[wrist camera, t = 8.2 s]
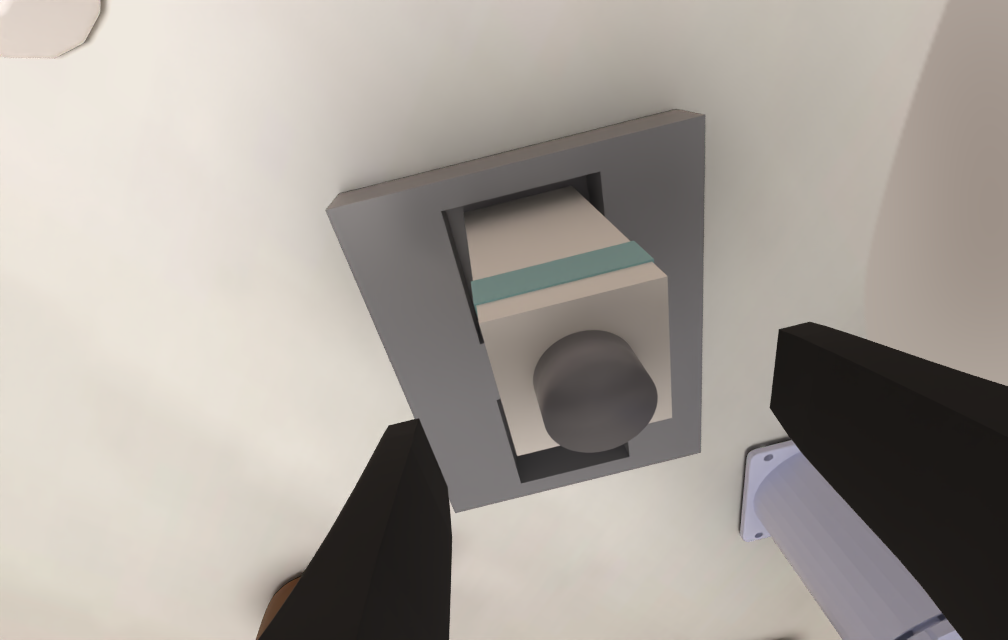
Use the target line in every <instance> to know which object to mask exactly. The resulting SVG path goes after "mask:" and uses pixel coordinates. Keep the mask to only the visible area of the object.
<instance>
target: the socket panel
mask: <svg viewBox="0 0 1008 640" xmlns="http://www.w3.org/2000/svg"><path fill="white" fill-rule="evenodd" d="M704 178H705V115H704V114H699V113H694V112H688V111H683V110H678V109H675V110H671V111H667V112H663V113H659V114H655V115H651V116H647V117H643V118H639V119H635V120H631V121H627V122H623V123H619V124H615V125H611V126H607V127H603V128H599V129H595V130H591V131H587V132H583V133H579V134H575V135H571V136H567V137H563V138H559V139H555V140H551V141H547V142H543V143H539V144H535V145H531V146H527V147H523V148H519V149H515V150H511V151H508V152H504V153H500V154H496V155H492V156H488V157H484V158H480V159H476V160H472V161H468V162H464V163H460V164H456V165H452V166H448V167H444V168H440V169H436V170H432V171H428V172H424V173H420V174H416V175H412V176H408V177H404V178H400V179H396V180H392V181H388V182H384V183H380V184H376V185H372V186H368V187H364V188H360V189H356V190H352V191H348V192H344V193H340V194H338V195H337V196H336V198H335V199H334V200H333V201H332V203H331V204H330V205H329V206H328V208H327V209H326V213H327V215H328V217H329V220H330V222H331V224H332V227H333V229H334V231H335V234H336V236H337V238H338V241H339V243H340V245H341V248H342V250H343V252H344V255H345V257H346V259H347V262H348V264H349V266H350V269H351V271H352V273H353V276H354V278H355V280H356V283H357V285H358V287H359V290H360V292H361V294H362V297H363V299H364V301H365V304H366V306H367V308H368V311H369V313H370V315H371V318H372V320H373V322H374V325H375V327H376V329H377V332H378V334H379V336H380V339H381V341H382V343H383V346H384V348H385V350H386V353H387V355H388V357H389V360H390V362H391V364H392V367H393V369H394V371H395V374H396V376H397V378H398V381H399V383H400V385H401V388H402V390H403V392H404V395H405V397H406V399H407V402H408V404H409V406H410V409H411V411H412V413H413V416H414V418H415V419H418V418H419V420H420V422H421V424H422V427H423V429H424V431H425V434H426V436H427V439H428V441H429V443H430V446H431V448H432V450H433V453H434V455H435V458H436V460H437V462H438V465H439V467H440V469H441V472H442V474H443V477H444V479H445V481H446V484H447V486H448V494H449V500H450V502H451V504H452V507H453V509H454V511H455V513H458V512H462V511H466V510H470V509H474V508H478V507H482V506H486V505H490V504H494V503H498V502H502V501H506V500H510V499H514V498H519V497H523V496H527V495H531V494H535V493H539V492H543V491H547V490H551V489H555V488H559V487H563V486H567V485H571V484H575V483H579V482H583V481H587V480H592V479H596V478H600V477H604V476H608V475H612V474H616V473H620V472H624V471H628V470H632V469H636V468H640V467H644V466H648V465H652V464H656V463H661V462H665V461H669V460H673V459H677V458H681V457H685V456H689V455H693V454H697V453H701V402H702V328H703V253H704ZM568 186H572V187H574V188H575V189H576V190H577V191H578V192H579V193H580V194H581V195H582V196H583V197H584V198H585V199H586V200H587V201H588V202H589V203H590V204H592V205H593V206H594V207H595V208H596V209H597V210H598V211H599V212H600V213H601V214H602V215H603V216H604V217H605V218H606V219H607V220H608V221H610V222H611V223H612V224H613V225H614V226H615V227H616V228H617V229H618V230H619V231H620V232H621V233H622V234H623V235H624V236H625V237H626V238H628V239H629V240H630V241H635V242H636V243H637V244H638V245H639V246H641V247H642V248H643V249H644V250H645V251H646V252H647V253H648V254H649V255H650V256H651V257H652V258H654V264H655V265H656V266H657V267H658V268H659V269H660V270H661V271H663V272H664V273H665V274H666V275H667V276H668V305H669V336H670V366H671V397H672V418H669V419H665V420H661V421H657V422H653V423H649V424H648V425H647V426H646V427H645V428H644V429H643V430H642V431H641V432H640V433H639V434H638V435H637V436H635V437H634V438H633V439H631V440H630V441H628V442H627V443H625V444H623V445H621V446H618V447H616V448H613V449H610V450H606V451H601V452H593V453H584V452H577V451H572V450H569V449H566V448H564V447H562V446H556V447H552V448H548V449H544V450H540V451H536V452H532V453H528V454H524V455H520V456H517V454H516V450H515V447H514V443H513V440H512V436H511V433H510V430H509V426H508V423H507V419H506V416H505V412H504V409H503V405H502V402H501V398H500V395H499V391H498V388H497V385H496V381H495V378H494V374H493V371H492V367H491V364H490V360H489V357H488V353H487V350H486V346H485V343H484V339H483V336H482V333H481V329H480V326H479V321H478V317H477V314H476V311H475V307H474V303H473V295H472V287H471V281H473V277H472V270H471V263H470V256H469V248H468V241H467V234H466V227H465V219H464V213H465V212H469V211H473V210H477V209H481V208H485V207H489V206H493V205H497V204H501V203H505V202H509V201H513V200H517V199H521V198H525V197H529V196H533V195H537V194H541V193H544V192H548V191H552V190H556V189H560V188H564V187H568Z"/></svg>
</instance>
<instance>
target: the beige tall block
mask: <svg viewBox="0 0 1008 640" xmlns="http://www.w3.org/2000/svg"><path fill="white" fill-rule="evenodd" d="M464 219H465V227H466V234H467V241H468V248H469V256H470V263H471V270H472V277H473V281H471V287H472V295H473V303H474V307H475V311H476V314H477V317H478V321H479V326H480V329H481V333H482V336H483V339H484V343H485V346H486V350H487V353H488V357H489V360H490V364H491V367H492V371H493V374H494V378H495V381H496V385H497V388H498V391H499V395H500V398H501V402H502V405H503V409H504V412H505V416H506V419H507V423H508V426H509V430H510V433H511V436H512V440H513V443H514V447H515V450H516V454H517V456H520V455H524V454H528V453H532V452H536V451H540V450H544V449H548V448H552V447H556V446H562V447H564V448H566V449H569V450H572V451H577V452H584V453H593V452H601V451H606V450H610V449H613V448H616V447H618V446H621V445H623V444H625V443H627V442H628V441H630V440H631V439H633V438H634V437H635V436H637V435H638V434H639V433H640V432H641V431H642V430H643V429H644V428H645V427H646V426H647V425H648V424H649V423H653V422H657V421H661V420H665V419H669V418H672V397H671V366H670V336H669V305H668V276H667V275H666V274H665V273H664V272H663V271H661V270H660V269H659V268H658V267H657V266H656V265H655V264H654V258H652V257H651V256H650V255H649V254H648V253H647V252H646V251H645V250H644V249H643V248H642V247H641V246H639V245H638V244H637V243H636V242H635V241H630V240H629V239H628V238H626V237H625V236H624V235H623V234H622V233H621V232H620V231H619V230H618V229H617V228H616V227H615V226H614V225H613V224H612V223H611V222H610V221H608V220H607V219H606V218H605V217H604V216H603V215H602V214H601V213H600V212H599V211H598V210H597V209H596V208H595V207H594V206H593V205H592V204H590V203H589V202H588V201H587V200H586V199H585V198H584V197H583V196H582V195H581V194H580V193H579V192H578V191H577V190H576V189H575V188H574V187H572V186H568V187H564V188H560V189H556V190H552V191H548V192H544V193H541V194H537V195H533V196H529V197H525V198H521V199H517V200H513V201H509V202H505V203H501V204H497V205H493V206H489V207H485V208H481V209H477V210H473V211H469V212H465V213H464Z"/></svg>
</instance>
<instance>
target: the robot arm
mask: <svg viewBox="0 0 1008 640" xmlns="http://www.w3.org/2000/svg"><path fill="white" fill-rule="evenodd" d="M770 409H771V410H772V412H773V413H774V415H775V416H776V418H777V419H778V421H779V422H780V424H781V425H782V427H783V428H784V430H785V431H786V432H787V434H788V435H789V437H790V438H791V439H792V440H790V441H786V442H781V443H777V444H773V445H769V446H765V447H761V448H757V449H754V450H752V451H750V452H749V453H748V455H747V460H746V471H745V482H744V494H743V505H742V516H741V527H740V536H741V537H742V539H743V540H744V541H746V542H750V541H754V540H758V539H762V538H766V537H772V539H773V540H774V542H775V543H776V544H777V546H778V547H779V549H780V550H781V552H782V553H783V554H784V556H785V557H786V559H787V560H788V562H789V563H790V565H791V566H792V567H793V569H794V570H795V572H796V573H797V575H798V576H799V578H800V579H801V580H802V582H803V583H804V585H805V586H806V588H807V589H808V590H809V592H810V593H811V595H812V596H813V598H814V599H815V601H816V602H817V603H818V605H819V606H820V608H821V609H822V611H823V612H824V614H825V615H826V616H827V618H828V619H829V621H830V622H831V624H832V625H833V626H834V628H835V629H836V631H837V632H838V634H839V635H840V637H841V638H842V639H843V640H1008V386H1005V385H1002V384H999V383H996V382H992V381H989V380H986V379H983V378H980V377H977V376H973V375H970V374H967V373H964V372H961V371H958V370H955V369H952V368H949V367H946V366H943V365H940V364H937V363H934V362H931V361H928V360H925V359H922V358H919V357H916V356H913V355H910V354H908V353H905V352H902V351H899V350H896V349H893V348H890V347H887V346H884V345H881V344H878V343H875V342H873V341H870V340H867V339H864V338H861V337H858V336H855V335H852V334H849V333H846V332H843V331H839V330H836V329H833V328H830V327H827V326H823V325H820V324H816V323H812V322H807V323H803V324H799V325H795V326H791V327H787V328H783V329H779V333H778V342H777V350H776V359H775V368H774V377H773V385H772V394H771V403H770ZM451 560H452V531H451V517H450V505H449V494H448V486H447V484H446V481H445V479H444V477H443V474H442V472H441V469H440V467H439V465H438V462H437V460H436V458H435V455H434V453H433V450H432V448H431V446H430V443H429V441H428V439H427V436H426V434H425V431H424V429H423V427H422V424H421V422H420V420H419V418H418V419H414V420H410V421H405V422H401V423H397V424H393V425H389V426H388V428H387V429H386V431H385V433H384V434H383V436H382V438H381V440H380V442H379V444H378V445H377V447H376V449H375V451H374V453H373V455H372V457H371V458H370V460H369V462H368V464H367V466H366V468H365V470H364V471H363V473H362V475H361V477H360V479H359V481H358V482H357V484H356V486H355V488H354V490H353V491H352V493H351V495H350V497H349V498H348V500H347V502H346V504H345V505H344V507H343V509H342V511H341V512H340V514H339V516H338V518H337V519H336V521H335V523H334V525H333V526H332V528H331V530H330V531H329V533H328V535H327V536H326V538H325V540H324V541H323V543H322V544H321V546H320V547H319V549H318V551H317V552H316V554H315V555H314V557H313V559H312V560H311V562H310V563H309V565H308V566H307V568H306V570H305V571H304V573H303V574H302V576H301V578H300V579H299V581H298V582H297V584H296V585H295V587H294V588H293V590H292V591H291V593H290V594H289V596H288V597H287V599H286V600H285V602H284V603H283V605H282V606H281V608H280V609H279V611H278V612H277V613H276V615H275V616H274V618H273V619H272V621H271V622H270V623H269V625H268V626H267V628H266V629H265V630H264V632H263V633H262V635H261V636H260V637H259V639H258V640H449V624H450V594H451Z"/></svg>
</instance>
